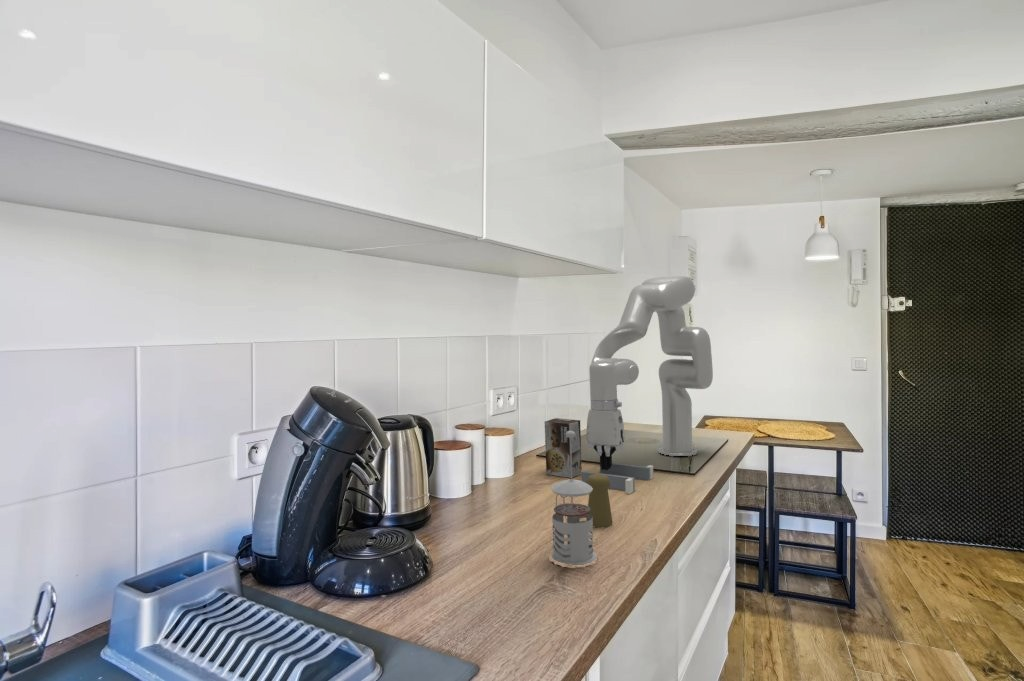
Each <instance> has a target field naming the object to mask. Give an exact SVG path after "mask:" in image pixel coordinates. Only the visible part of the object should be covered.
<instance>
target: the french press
mask: <svg viewBox="0 0 1024 681" xmlns="http://www.w3.org/2000/svg"><path fill="white" fill-rule="evenodd" d="M566 437H570V463H571V478H569V479H567V480H566V479H564V480H561V481H559V482H557V483H554V484H553V485H552V486H551V487H550V489H551V492H552V493H554V494H556V497H555V507H553V511H554V512H555V513H553V515H552V518H551V520H552V521H551V522H552V537H553V538H552V552H551V553H550V554H551V556H552V558H553V559H554V560H556V561H558V562H561V563H565V564H572V565H584V564H587V563H591V562H592V561H594V560H595V559H596V555H597V554H596V552H594V536H593V532H594V527H593V518H592V515H591V514H589V512H590V510H591V509H590V508H589V506H588V505H586V504H583V503H582V504H581V503H577V502H576V503H574V502H573V499H574V498H573V497H583V496H587V495H588V496H589V494H590V493H591V492H592V490H593V488H592V487H591V486H590V485H588V484H587V483H585V482H582V480H578V479H573V477H572V451H571V437H575V432H574V431H567V432H566ZM558 496H560V497H561V498H562V500H563V501H562V502H563V503H560V504H558ZM567 497H570V500H571V501H570V502H568V503H566V502H565V498H567ZM583 518H585V519H586V518H589V519H590V520H589V521H586V520H581V521H580V519H583ZM564 519H565V520H564ZM564 521H566V522H564ZM589 533H590V534H589ZM565 535H567V537H565ZM589 539H590V540H589ZM565 542H566V543H567V544H565Z"/></svg>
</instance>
